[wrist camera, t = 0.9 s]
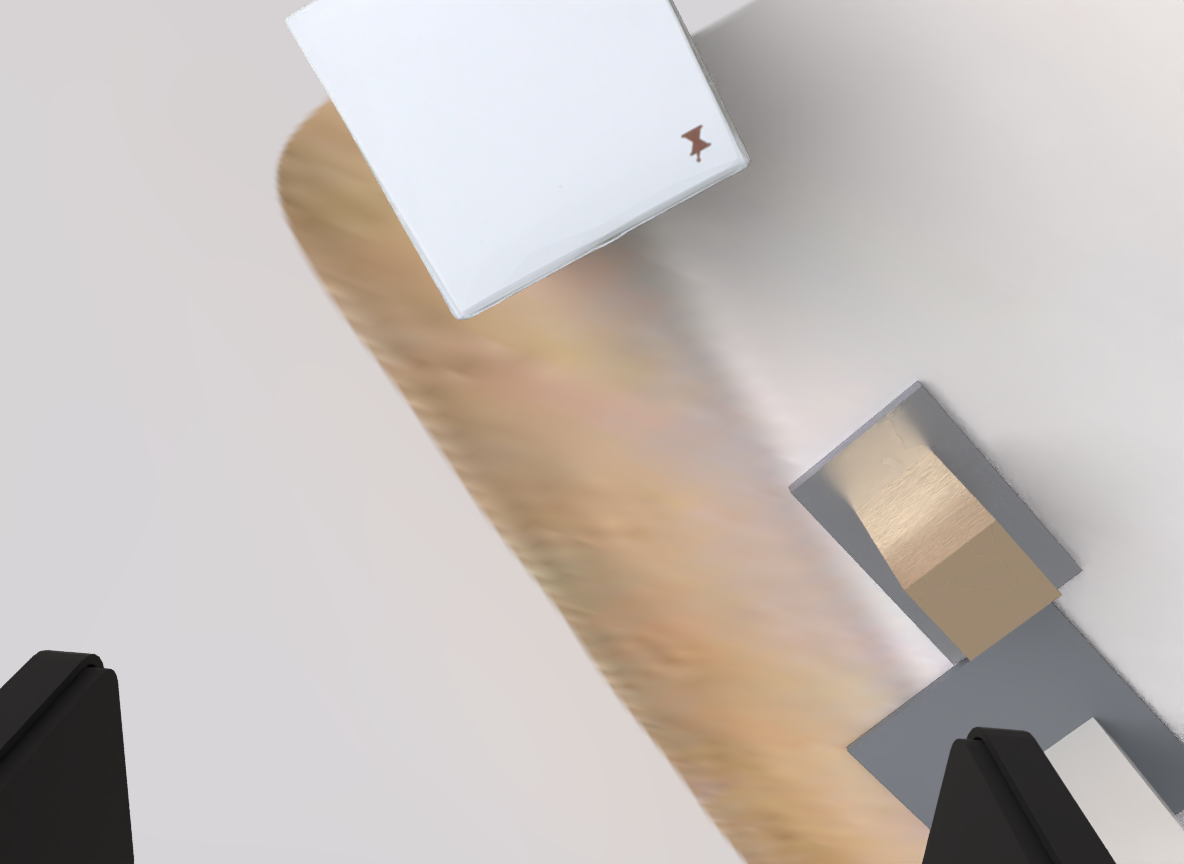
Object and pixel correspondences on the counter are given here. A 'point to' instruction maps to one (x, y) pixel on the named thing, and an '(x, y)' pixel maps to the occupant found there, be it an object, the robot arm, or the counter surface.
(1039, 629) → the mat
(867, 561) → the trowel
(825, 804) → the counter surface
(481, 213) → the supplement box
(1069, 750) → the tile
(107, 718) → the robot arm
